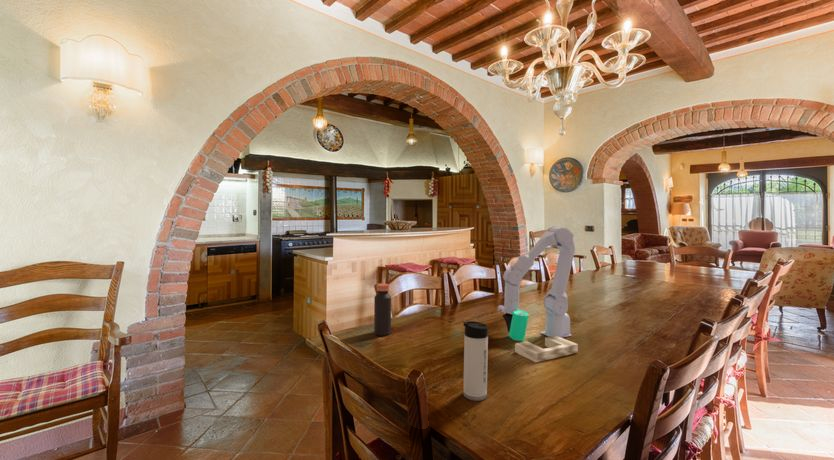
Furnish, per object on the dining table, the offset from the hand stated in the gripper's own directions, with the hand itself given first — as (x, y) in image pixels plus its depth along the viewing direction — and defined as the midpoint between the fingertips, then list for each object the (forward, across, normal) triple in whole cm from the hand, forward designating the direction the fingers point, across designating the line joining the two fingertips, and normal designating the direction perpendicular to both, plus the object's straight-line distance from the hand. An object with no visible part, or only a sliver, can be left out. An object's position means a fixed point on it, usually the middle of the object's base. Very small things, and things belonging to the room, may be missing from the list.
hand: (510, 332), depth 144 cm
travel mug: (+2, +33, -41) cm, 52 cm away
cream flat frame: (+1, +19, 0) cm, 19 cm away
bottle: (+2, -24, -46) cm, 52 cm away
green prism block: (+1, +3, 0) cm, 3 cm away
